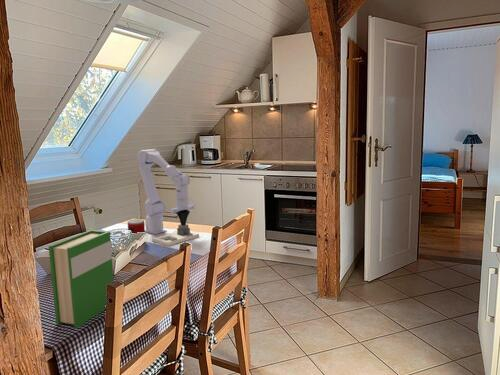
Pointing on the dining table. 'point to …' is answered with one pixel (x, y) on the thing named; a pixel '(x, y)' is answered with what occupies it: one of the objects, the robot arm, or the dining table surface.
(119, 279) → the dining table surface
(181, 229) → the plug
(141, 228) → the canned food
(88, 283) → the hardback book
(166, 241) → the socket plate
